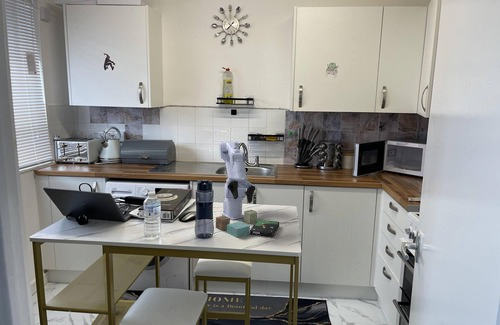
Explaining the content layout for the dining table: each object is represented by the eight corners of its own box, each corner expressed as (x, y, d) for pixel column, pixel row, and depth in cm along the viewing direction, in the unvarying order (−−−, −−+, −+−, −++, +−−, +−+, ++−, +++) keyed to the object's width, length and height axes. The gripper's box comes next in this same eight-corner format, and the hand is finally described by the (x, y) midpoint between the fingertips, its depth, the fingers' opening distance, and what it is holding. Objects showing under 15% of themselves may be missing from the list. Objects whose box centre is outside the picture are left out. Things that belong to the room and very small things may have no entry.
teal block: (226, 233, 165) (227, 224, 165) (239, 229, 170) (239, 221, 169) (236, 238, 160) (236, 229, 159) (249, 234, 165) (249, 225, 164)
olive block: (243, 221, 181) (244, 211, 180) (251, 219, 184) (251, 209, 183) (249, 224, 177) (250, 213, 176) (257, 222, 180) (257, 212, 179)
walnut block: (215, 227, 171) (215, 217, 170) (223, 225, 174) (224, 215, 173) (221, 230, 167) (221, 220, 166) (229, 228, 170) (229, 218, 169)
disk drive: (273, 239, 162) (279, 227, 176) (273, 232, 161) (279, 221, 175) (249, 236, 164) (257, 224, 178) (249, 230, 163) (257, 218, 178)
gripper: (231, 165, 166) (235, 191, 158) (257, 174, 174) (262, 199, 166) (222, 174, 171) (225, 199, 163) (248, 182, 179) (252, 207, 171)
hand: (243, 200), depth 165 cm, fingers open, 7 cm apart
